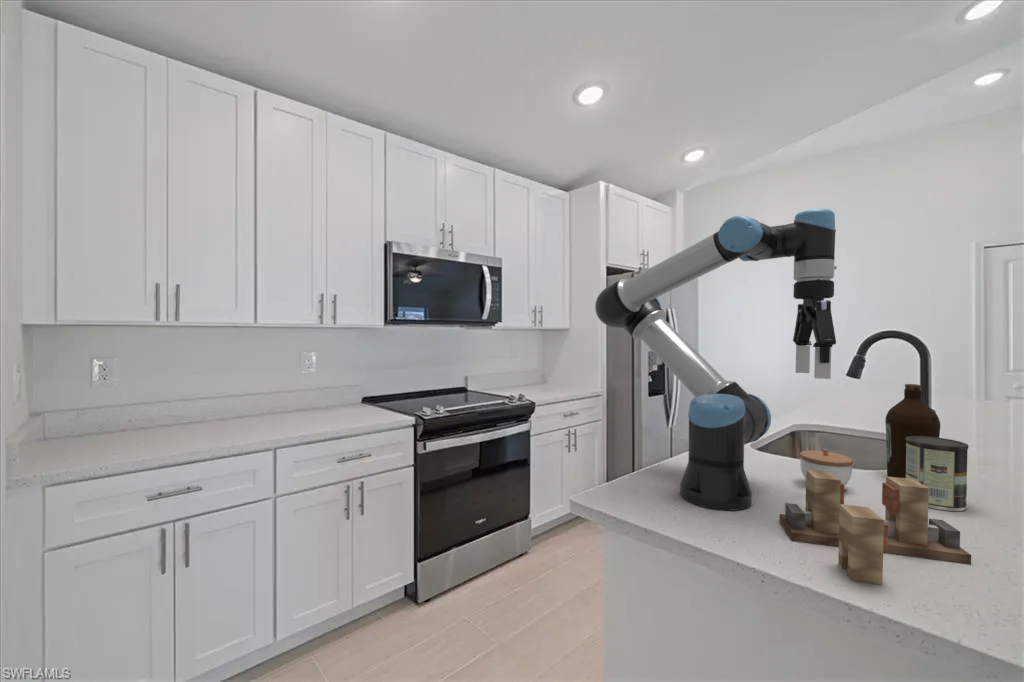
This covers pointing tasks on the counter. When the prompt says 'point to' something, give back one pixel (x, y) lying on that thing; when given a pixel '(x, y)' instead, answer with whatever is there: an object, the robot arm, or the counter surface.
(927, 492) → the right finger
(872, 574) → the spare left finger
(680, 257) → the robot arm
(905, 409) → the olive oil
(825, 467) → the lidded jar
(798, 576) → the counter surface
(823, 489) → the block
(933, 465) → the coffee can
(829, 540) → the rail board
